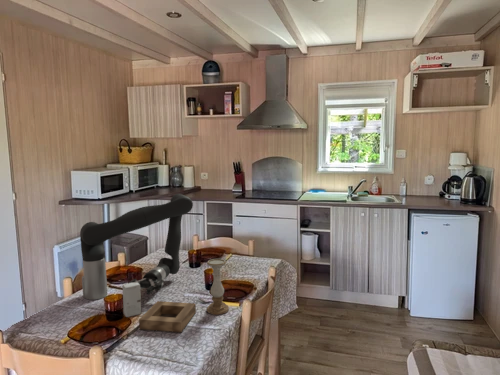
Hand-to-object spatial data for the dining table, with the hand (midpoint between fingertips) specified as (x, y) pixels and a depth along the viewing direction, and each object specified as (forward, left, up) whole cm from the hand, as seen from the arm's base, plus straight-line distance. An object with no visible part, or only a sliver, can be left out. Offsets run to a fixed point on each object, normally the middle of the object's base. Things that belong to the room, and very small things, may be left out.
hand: (137, 291), depth 152 cm
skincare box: (0, -5, -8) cm, 9 cm away
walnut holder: (+17, -9, -7) cm, 20 cm away
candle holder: (+33, +3, -8) cm, 34 cm away
